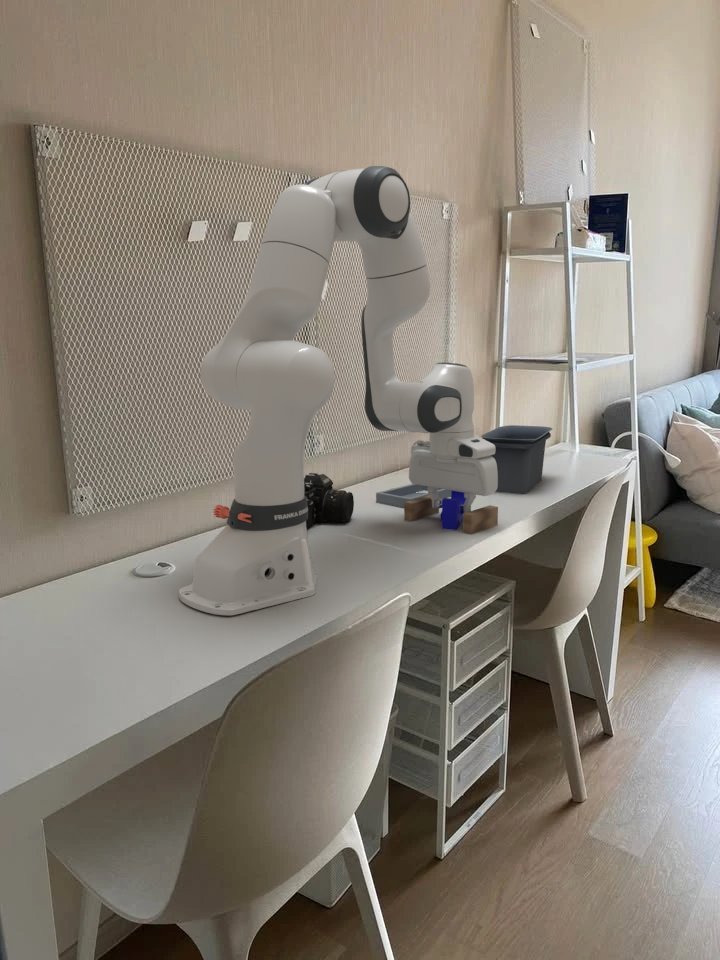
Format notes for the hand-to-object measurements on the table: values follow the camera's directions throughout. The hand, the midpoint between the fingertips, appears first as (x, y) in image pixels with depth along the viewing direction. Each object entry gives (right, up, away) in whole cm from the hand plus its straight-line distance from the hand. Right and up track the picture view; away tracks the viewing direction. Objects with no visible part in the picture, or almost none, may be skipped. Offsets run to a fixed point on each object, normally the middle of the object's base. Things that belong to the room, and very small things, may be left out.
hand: (451, 510), depth 154 cm
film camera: (-26, -3, +4) cm, 26 cm away
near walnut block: (+5, -4, -5) cm, 8 cm away
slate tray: (-5, +2, +21) cm, 21 cm away
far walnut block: (-6, -2, +6) cm, 8 cm away
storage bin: (+19, +4, +31) cm, 37 cm away
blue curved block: (0, -3, +1) cm, 3 cm away
